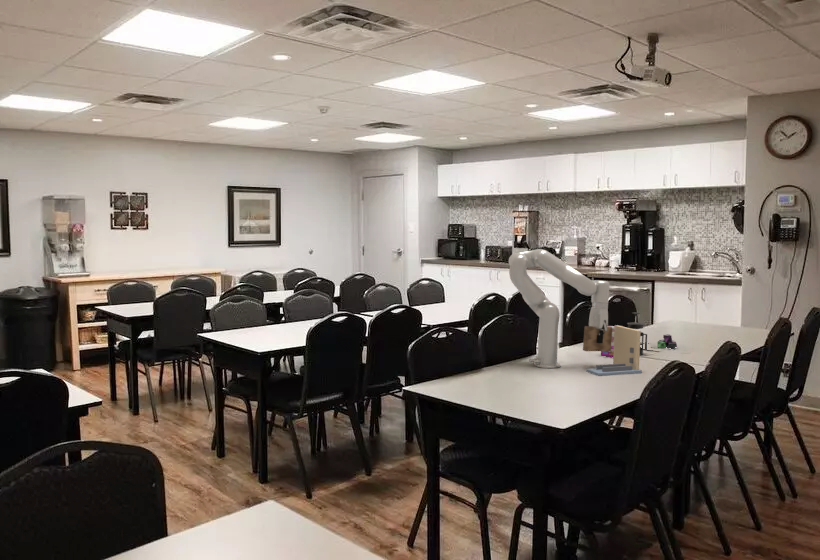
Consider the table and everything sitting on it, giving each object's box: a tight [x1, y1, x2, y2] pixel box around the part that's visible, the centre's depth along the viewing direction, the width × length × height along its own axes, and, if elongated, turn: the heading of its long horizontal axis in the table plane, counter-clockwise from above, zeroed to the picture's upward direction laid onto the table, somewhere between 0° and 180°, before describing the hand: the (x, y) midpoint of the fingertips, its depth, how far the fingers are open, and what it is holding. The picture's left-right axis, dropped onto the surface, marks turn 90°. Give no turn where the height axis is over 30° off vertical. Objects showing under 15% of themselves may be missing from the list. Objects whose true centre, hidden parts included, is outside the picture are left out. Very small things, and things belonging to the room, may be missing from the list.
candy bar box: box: [600, 325, 615, 358], centre depth 351 cm, size 11×5×16 cm, turn 62°
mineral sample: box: [640, 333, 678, 350], centre depth 381 cm, size 35×35×9 cm
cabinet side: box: [585, 324, 643, 377], centre depth 318 cm, size 24×20×20 cm
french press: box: [626, 311, 648, 357], centre depth 359 cm, size 12×9×23 cm
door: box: [582, 325, 612, 352], centre depth 325 cm, size 15×3×12 cm, turn 108°
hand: (597, 342), depth 325 cm, fingers closed on door, 3 cm apart
